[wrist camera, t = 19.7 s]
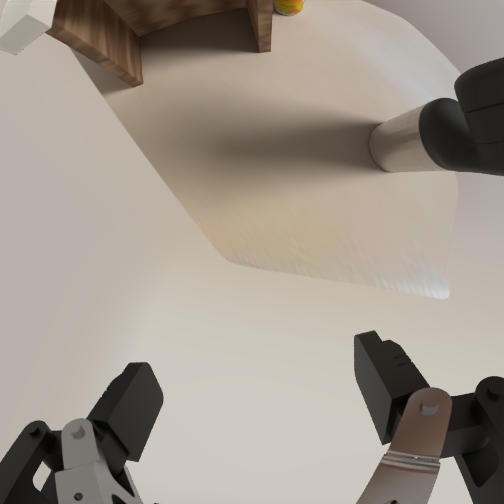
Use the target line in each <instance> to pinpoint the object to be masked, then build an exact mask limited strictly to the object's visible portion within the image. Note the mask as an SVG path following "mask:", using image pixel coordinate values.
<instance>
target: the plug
mask: <svg viewBox="0 0 504 504" xmlns="http://www.w3.org/2000/svg"><path fill="white" fill-rule="evenodd" d="M56 2H57V0H7V3H6V5H5V8H4V10H3V13H2V16H1V19H0V50H3V51H6V52H8V53H11V54H14V55H17V54H18V53H19V52H20V51H22V50H23V49H24V48H25V47H26V46H28V45H29V44H30V43H31V42H32V41H34V40H35V39H36V38H38V37H39V36H40V35H42V34H43V33H44V32H46V31H47V30H49V29H50V28H51V26H52V21H53V16H54V11H55V7H56Z"/></svg>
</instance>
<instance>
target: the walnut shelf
mask: <svg viewBox="0 0 504 504" xmlns="http://www.w3.org/2000/svg"><path fill="white" fill-rule="evenodd" d="M245 7H247V11H248V14H249V17H250V21H251V24H252V28H253V31H254V35H255V38H256V42H257V46H258V49H259V53H263V52H270V51H271V31H272V10H273V0H57V2H56V7H55V11H54V16H53V21H52V26H51V28H50V29H49V30H47V31H46V32H44V33H46V34H48V35H50V36H52V37H54V38H55V39H57V40H59V41H61V42H62V43H64V44H66V45H68V46H69V47H71V48H73V49H74V50H76V51H78V52H79V53H81V54H83V55H84V56H86V57H88V58H89V59H91V60H93V61H94V62H96V63H97V64H99V65H101V66H102V67H104V68H105V69H107V70H108V71H110V72H111V73H113V74H115V75H116V76H118V77H119V78H121V79H122V80H124V81H125V82H127V83H128V84H130V85H131V86H133V87H136V86H139V85H141V84H143V77H142V67H141V56H140V43H139V37H140V36H142V35H145V34H148V33H150V32H153V31H156V30H158V29H161V28H164V27H167V26H170V25H173V24H176V23H180V22H183V21H186V20H190V19H194V18H197V17H201V16H205V15H209V14H214V13H218V12H223V11H228V10H233V9H239V8H245Z"/></svg>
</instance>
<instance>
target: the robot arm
mask: <svg viewBox="0 0 504 504" xmlns="http://www.w3.org/2000/svg"><path fill="white" fill-rule="evenodd" d="M454 88H455V93H456V96H457V99H458V101H456V100H454V99H451V98H439V99H436V100H434V101H431V102H429V103H427V104H425V105H422V106H420V107H418V108H416V109H414V110H411V111H409V112H407V113H404V114H402V115H400V116H398V117H396V118H393V119H391V120H389V121H387V122H385V123H383V124H380V125H379V126H377V127H376V128H375V129H374V130H373V131H372V133H371V136H370V139H369V148H370V152H371V155H372V157H373V159H374V161H375V162H376V163H377V164H378V165H379V166H380V167H381V168H382V169H384V170H386V171H388V172H417V171H458V172H475V173H483V174H490V175H498V176H499V175H500V176H504V57H503V58H500V59H496V60H493V61H490V62H487V63H484V64H481V65H478V66H476V67H474V68H471V69H469V70H468V71H466V72H464V73H463V74H462V75H460V76H459V77H458V79H457V80H456V82H455V85H454ZM354 370H355V377H356V380H357V383H358V386H359V388H360V390H361V393H362V395H363V397H364V400H365V403H366V405H367V408H368V410H369V412H370V415H371V417H372V420H373V423H374V425H375V428H376V430H377V433H378V435H379V438H380V441H381V443H382V445H384V444H387V443H390V442H391V445H390V447H389V449H388V451H387V453H386V454H385V455H384V456H383V457H382V459H381V461H380V463H379V465H378V466H377V468H376V470H375V472H374V474H373V476H372V478H371V479H370V481H369V483H368V485H367V486H366V488H365V490H364V492H363V493H362V495H361V497H360V498H359V500H358V501H357V503H356V504H427V502H428V500H429V497H430V495H431V492H432V490H433V487H434V484H435V481H436V479H437V476H438V472H439V469H440V462H439V459H441V458H447V457H452V456H454V458H455V460H456V462H457V464H458V467H459V469H460V471H461V474H462V476H463V479H464V481H465V483H466V486H467V488H468V491H469V494H470V496H471V499H472V502H473V504H504V378H502V377H498V376H492V377H487V378H485V379H483V380H482V381H480V383H479V384H478V385H477V387H476V390H475V392H474V393H469V394H464V395H459V396H450V395H449V394H448V393H447V392H445V391H444V390H442V389H439V388H433V387H430V386H429V384H428V383H427V381H426V380H425V379H424V377H423V376H422V374H421V373H420V372H419V370H418V369H417V368H416V366H415V365H414V363H413V362H411V359H410V358H409V357H408V356H407V355H406V353H405V351H404V350H403V349H402V347H401V346H400V345H398V344H397V343H395V342H393V341H391V340H386V341H383V342H382V340H381V339H380V338H379V336H378V334H377V333H376V332H375V331H374V330H373V331H370V332H366V333H361V334H358V335H355V336H354ZM162 404H163V393H162V390H161V388H160V385H159V383H158V381H157V379H156V377H155V375H154V373H153V371H152V368H151V366H150V365H149V364H148V363H147V362H139V363H137V362H136V363H129V364H128V365H127V367H126V368H125V370H124V371H123V372H122V374H120V375H119V376H118V377H116V378H115V379H114V380H113V381H112V382H111V383H110V385H109V386H108V387H107V391H105V392H104V393H103V395H102V397H100V399H99V400H98V402H97V403H96V405H95V406H94V408H93V409H92V411H91V412H90V414H89V415H88V417H87V418H86V419H83V418H80V419H75V420H73V421H71V422H69V423H68V424H67V425H66V426H65V427H64V428H63V430H61V431H51V430H50V428H49V427H48V426H47V424H46V423H45V422H43V421H40V420H39V421H34V422H31V423H30V424H28V425H27V426H26V427H25V428H24V430H23V431H22V432H21V434H20V435H19V436H18V438H17V439H16V441H15V442H14V443H13V445H12V446H11V448H10V449H9V451H8V452H7V454H6V455H5V457H4V458H3V459H2V461H1V462H0V504H143V502H142V501H141V499H140V496H139V494H138V492H137V490H136V487H135V485H134V483H133V480H132V478H131V475H130V473H129V470H128V468H127V467H126V466H125V462H126V460H130V461H135V462H139V459H140V457H141V454H142V452H143V449H144V447H145V445H146V442H147V440H148V438H149V435H150V433H151V430H152V428H153V426H154V423H155V421H156V418H157V416H158V414H159V412H160V409H161V406H162ZM42 461H43V462H44V463H45V464H46V465H47V466H48V467H49V468H50V469H51V470H52V471H51V473H50V475H49V477H48V478H47V480H46V482H45V484H44V486H43V488H42V490H41V491H39V490H37V489H36V488H35V486H34V484H33V476H34V474H35V473H36V471H37V469H38V468H39V466H40V464H41V462H42ZM154 504H157V503H154Z"/></svg>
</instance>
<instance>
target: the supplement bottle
mask: <svg viewBox="0 0 504 504" xmlns="http://www.w3.org/2000/svg"><path fill="white" fill-rule="evenodd" d="M303 4H304V0H275V8H276V10H277V11H278V12H279V13H281V14H284V15H288V16H293V15H297V14H299V13H300V12H301V11H302V8H303Z"/></svg>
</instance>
